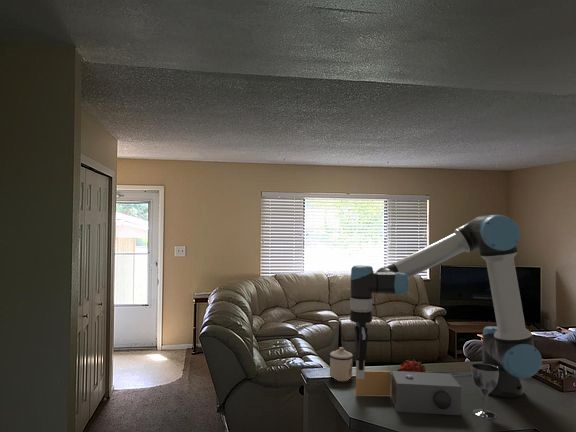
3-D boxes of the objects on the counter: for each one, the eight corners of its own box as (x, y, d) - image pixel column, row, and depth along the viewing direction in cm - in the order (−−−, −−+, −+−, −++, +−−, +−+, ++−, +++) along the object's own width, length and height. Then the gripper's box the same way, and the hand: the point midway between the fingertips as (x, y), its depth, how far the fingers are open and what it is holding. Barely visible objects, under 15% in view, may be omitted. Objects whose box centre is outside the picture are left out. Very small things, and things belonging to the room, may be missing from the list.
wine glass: (496, 411, 142) (497, 364, 142) (499, 421, 134) (500, 372, 135) (470, 407, 145) (470, 361, 145) (472, 417, 137) (472, 369, 137)
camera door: (389, 393, 153) (389, 370, 154) (390, 395, 152) (390, 371, 152) (355, 393, 153) (355, 370, 153) (355, 395, 152) (356, 371, 152)
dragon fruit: (428, 385, 168) (398, 390, 167) (419, 366, 175) (391, 371, 174) (432, 371, 163) (401, 377, 162) (422, 353, 170) (393, 358, 169)
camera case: (450, 399, 150) (450, 372, 150) (462, 417, 137) (462, 386, 137) (390, 396, 152) (391, 369, 152) (397, 413, 138) (397, 383, 139)
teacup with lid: (354, 382, 165) (354, 351, 166) (330, 381, 165) (331, 350, 165) (349, 371, 177) (350, 342, 178) (327, 370, 177) (327, 342, 177)
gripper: (375, 314, 146) (374, 385, 145) (368, 306, 158) (367, 372, 158) (353, 313, 145) (352, 384, 145) (347, 306, 158) (346, 371, 158)
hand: (360, 378), depth 151 cm, fingers closed
